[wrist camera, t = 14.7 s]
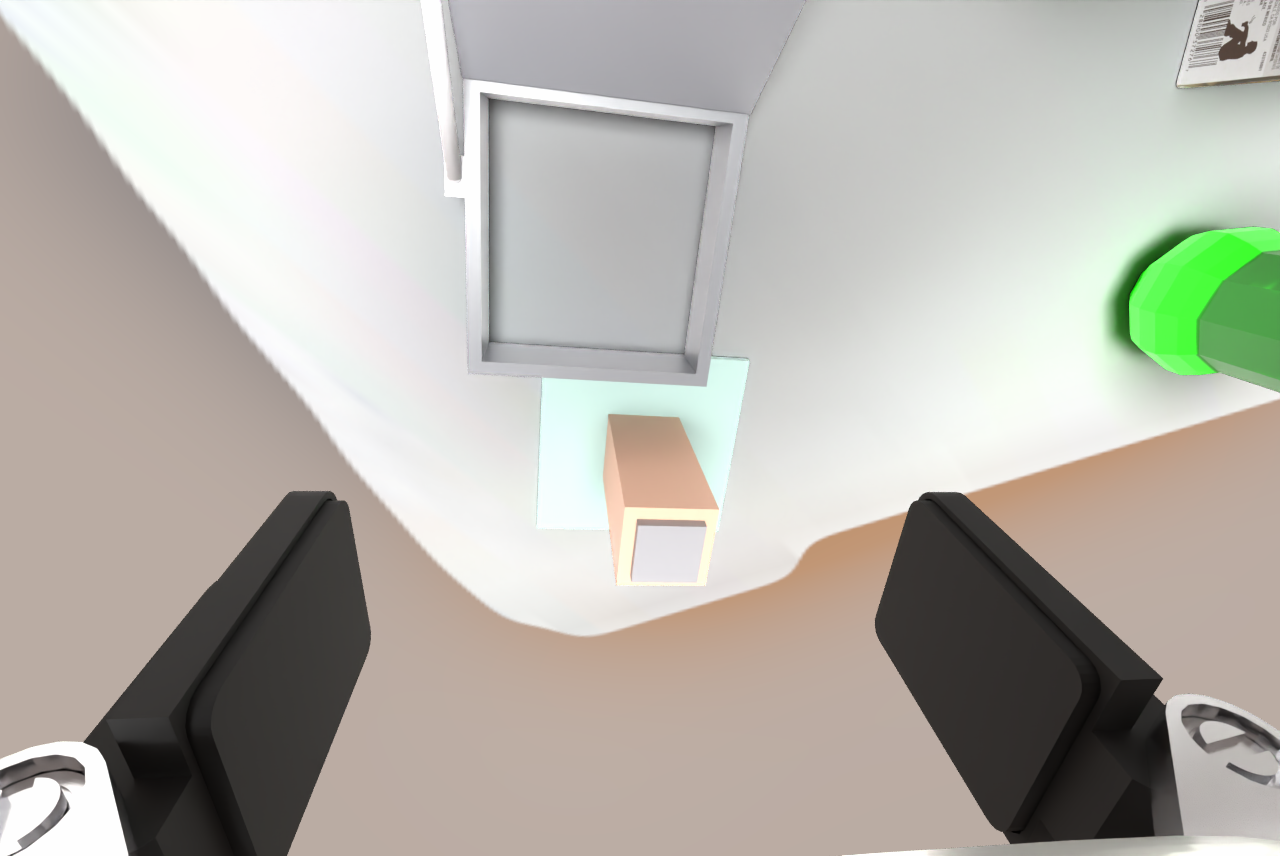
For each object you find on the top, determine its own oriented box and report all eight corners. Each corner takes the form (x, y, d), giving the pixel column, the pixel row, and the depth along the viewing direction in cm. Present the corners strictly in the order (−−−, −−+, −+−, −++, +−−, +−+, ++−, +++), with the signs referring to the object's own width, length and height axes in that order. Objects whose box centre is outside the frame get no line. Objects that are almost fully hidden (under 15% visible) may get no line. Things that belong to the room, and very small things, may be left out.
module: (678, 417, 42) (722, 516, 31) (670, 479, 44) (707, 593, 33) (608, 413, 41) (626, 513, 30) (602, 476, 43) (617, 592, 32)
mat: (747, 358, 41) (749, 361, 41) (716, 527, 47) (718, 531, 47) (543, 345, 39) (543, 348, 39) (536, 523, 45) (536, 528, 44)
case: (760, -89, 31) (954, -324, 16) (693, 366, 41) (772, 493, 26) (449, -145, 29) (319, -487, 13) (460, 352, 39) (394, 483, 23)
